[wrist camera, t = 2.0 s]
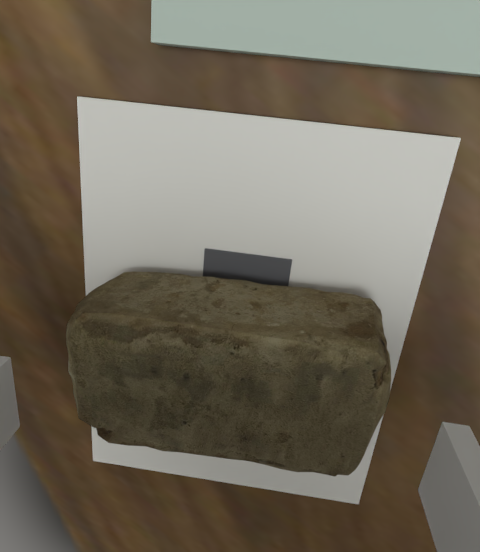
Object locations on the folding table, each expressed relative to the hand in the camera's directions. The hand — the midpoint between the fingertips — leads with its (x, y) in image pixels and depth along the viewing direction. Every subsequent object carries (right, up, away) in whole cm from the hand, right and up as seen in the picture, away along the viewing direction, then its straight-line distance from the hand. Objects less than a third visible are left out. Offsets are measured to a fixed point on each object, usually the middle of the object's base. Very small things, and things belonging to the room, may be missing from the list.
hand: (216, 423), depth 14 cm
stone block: (+1, +2, +6) cm, 6 cm away
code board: (+1, +2, +6) cm, 7 cm away
